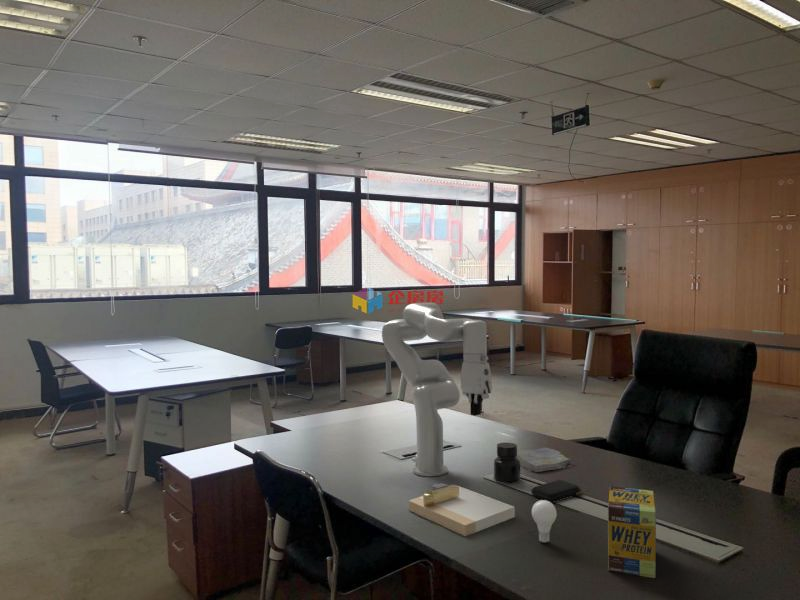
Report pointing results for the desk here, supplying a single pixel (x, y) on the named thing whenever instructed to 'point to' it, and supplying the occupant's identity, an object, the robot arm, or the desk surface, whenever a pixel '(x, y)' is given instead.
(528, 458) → the grey flat stone slab
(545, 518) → the lightbulb
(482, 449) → the desk surface
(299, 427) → the desk surface
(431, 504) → the gold bar
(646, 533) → the protein box
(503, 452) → the ink bottle
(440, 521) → the white cabinet door
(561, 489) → the carrying case or bag
